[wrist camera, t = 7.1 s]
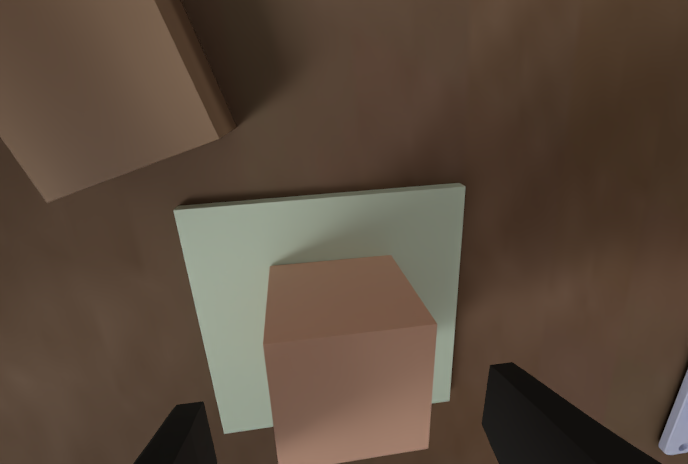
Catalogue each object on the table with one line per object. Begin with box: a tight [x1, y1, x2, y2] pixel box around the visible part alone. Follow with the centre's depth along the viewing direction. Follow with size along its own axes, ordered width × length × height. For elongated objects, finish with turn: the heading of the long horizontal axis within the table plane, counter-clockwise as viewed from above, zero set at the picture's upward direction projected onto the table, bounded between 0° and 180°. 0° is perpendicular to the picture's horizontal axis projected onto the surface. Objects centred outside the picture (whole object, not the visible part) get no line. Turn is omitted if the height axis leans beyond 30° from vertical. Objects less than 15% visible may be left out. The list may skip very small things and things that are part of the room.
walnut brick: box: [0, 0, 236, 203], centre depth 9 cm, size 4×4×3 cm
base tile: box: [173, 183, 466, 434], centre depth 13 cm, size 9×9×1 cm
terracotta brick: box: [263, 255, 437, 464], centre depth 11 cm, size 4×4×4 cm
